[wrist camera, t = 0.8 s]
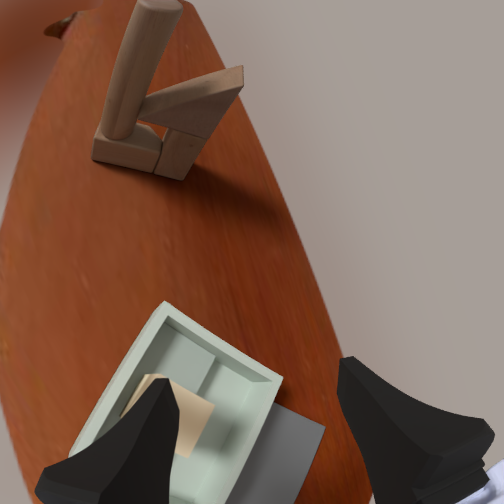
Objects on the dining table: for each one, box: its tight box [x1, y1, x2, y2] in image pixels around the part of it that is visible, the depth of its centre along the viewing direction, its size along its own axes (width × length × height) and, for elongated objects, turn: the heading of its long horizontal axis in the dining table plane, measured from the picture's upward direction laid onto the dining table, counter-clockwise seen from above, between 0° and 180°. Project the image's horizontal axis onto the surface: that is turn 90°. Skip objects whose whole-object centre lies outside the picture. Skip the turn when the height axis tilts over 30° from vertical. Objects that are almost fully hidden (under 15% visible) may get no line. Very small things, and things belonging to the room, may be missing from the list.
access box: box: [68, 301, 283, 504], centre depth 21 cm, size 15×12×4 cm
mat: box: [225, 402, 326, 504], centre depth 24 cm, size 12×8×1 cm, turn 154°
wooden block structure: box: [91, 0, 244, 181], centre depth 24 cm, size 4×11×18 cm, turn 93°
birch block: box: [119, 374, 215, 458], centre depth 18 cm, size 4×4×6 cm
